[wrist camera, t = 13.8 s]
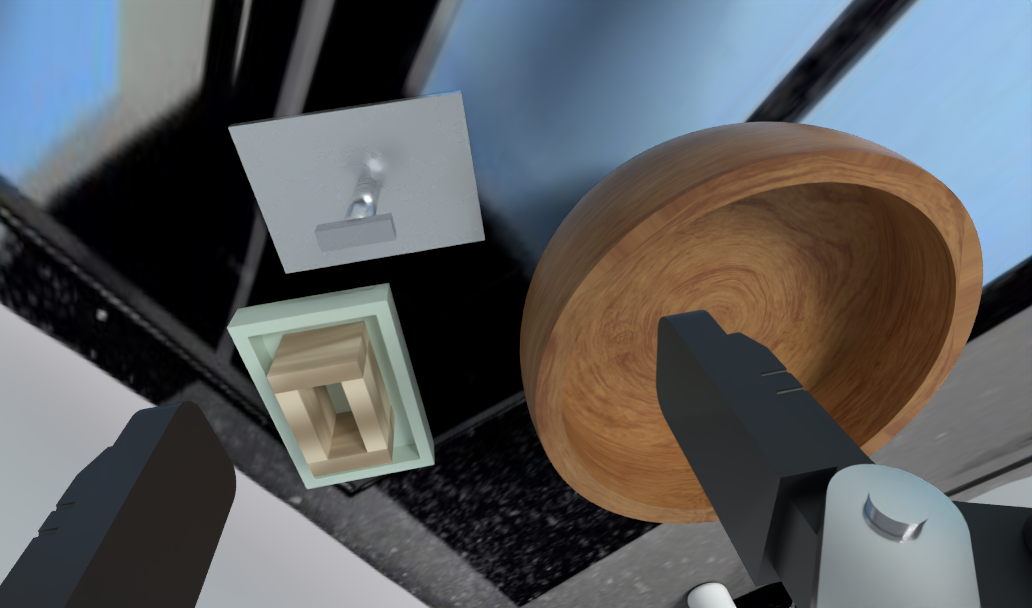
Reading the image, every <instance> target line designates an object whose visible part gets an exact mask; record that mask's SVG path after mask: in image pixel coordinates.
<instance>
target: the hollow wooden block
mask: <svg viewBox="0 0 1032 608" xmlns="http://www.w3.org/2000/svg"><path fill="white" fill-rule="evenodd" d="M267 379H268V381H269V383H270V385H271V387H272V390H273V392H274V394H275V396H276V398H277V400H278V402H279V404H280V406H281V409H282V411H283V413H284V415H285V417H286V419H287V421H288V423H289V426H290V428H291V430H292V432H293V434H294V436H295V438H296V440H297V442H298V445H299V447H300V449H301V451H302V453H303V455H304V457H305V459H306V462H307V464H308V466H309V468H310V470H311V472H312V474H313V476H314V477H317V476H322V475H327V474H332V473H338V472H343V471H348V470H353V469H359V468H364V467H369V466H374V465H380V464H385V463H390V462H392V455H393V440H394V425H395V415H394V412H393V409H392V406H391V403H390V400H389V397H388V394H387V391H386V387H385V384H384V381H383V378H382V375H381V372H380V369H379V366H378V362H377V359H376V356H375V353H374V350H373V347H372V344H371V341H370V337H369V334H368V331H367V328H366V325H365V322H364V321H359V322H353V323H347V324H342V325H336V326H330V327H324V328H318V329H313V330H307V331H301V332H295V333H290V334H284V335H283V337H282V339H281V342H280V344H279V347H278V350H277V352H276V355H275V357H274V360H273V362H272V365H271V367H270V370H269V373H268V375H267ZM339 382H341V383H342V386H343V389H344V391H345V394H346V397H347V399H348V402H349V404H350V407H351V410H352V411H350V412H345V413H339V414H337V413H336V411H335V408H334V406H333V403H332V401H331V398H330V396H329V393H328V391H327V388H326V386H325V385H328V384H333V383H339Z"/></svg>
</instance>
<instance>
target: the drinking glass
mask: <svg viewBox="0 0 1032 608" xmlns="http://www.w3.org/2000/svg"><path fill="white" fill-rule="evenodd" d="M687 602H688V606H689V608H736V606H735V604H734V602H733V600H732V598H731V596H730V594H729V592H728V590H727V589H726V587H725V586H723V585H722V584H720V583H715V582H712V583H706V584H702V585H700V586H698V587H696V588H695V589H693V590H692V591H691V592H690V594H689V595H688V599H687Z"/></svg>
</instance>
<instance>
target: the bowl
mask: <svg viewBox="0 0 1032 608" xmlns="http://www.w3.org/2000/svg"><path fill="white" fill-rule="evenodd" d="M982 283H983V260H982V251H981V246H980V241H979V238H978V234H977V231H976V228H975V226H974V223H973V221H972V219H971V217H970V215H969V213H968V212H967V210H966V209H965V207H964V206H963V204H962V203H961V201H960V200H959V199H958V198H957V196H956V195H955V194H954V193H953V192H952V191H951V190H950V189H949V188H948V187H947V186H946V185H945V184H944V183H942V182H941V181H940V180H938V179H937V178H936V177H934V176H933V175H932V174H930V173H929V172H927V171H926V170H925V169H923V168H922V167H920V166H919V165H917V164H915V163H914V162H912V161H910V160H909V159H907V158H905V157H903V156H901V155H900V154H898V153H896V152H894V151H892V150H889V149H887V148H885V147H883V146H881V145H878V144H876V143H874V142H871V141H869V140H866V139H863V138H860V137H857V136H854V135H851V134H848V133H844V132H841V131H837V130H833V129H828V128H824V127H818V126H813V125H806V124H796V123H786V122H750V123H738V124H730V125H723V126H718V127H712V128H707V129H703V130H700V131H696V132H692V133H689V134H686V135H683V136H679V137H676V138H674V139H671V140H668V141H666V142H663V143H661V144H659V145H657V146H654V147H652V148H650V149H648V150H646V151H644V152H643V153H641V154H639V155H637V156H635V157H633V158H632V159H630V160H629V161H627V162H625V163H624V164H622V165H621V166H619V167H618V168H616V169H615V170H613V171H612V172H611V173H609V174H608V175H607V176H606V177H604V178H603V179H602V180H600V181H599V182H598V183H597V184H596V185H595V186H594V187H593V188H591V189H590V190H589V191H588V192H587V193H586V194H585V195H584V196H583V197H582V198H581V199H580V200H579V201H578V203H577V204H576V205H575V206H574V207H573V208H572V209H571V211H570V212H569V213H568V214H567V216H566V217H565V218H564V219H563V221H562V222H561V224H560V225H559V226H558V228H557V229H556V231H555V232H554V234H553V236H552V237H551V239H550V240H549V242H548V244H547V246H546V248H545V250H544V251H543V253H542V256H541V258H540V260H539V262H538V264H537V267H536V269H535V272H534V274H533V277H532V280H531V283H530V286H529V290H528V293H527V297H526V301H525V306H524V310H523V317H522V325H521V336H520V362H521V373H522V381H523V387H524V392H525V397H526V401H527V405H528V409H529V412H530V416H531V419H532V422H533V424H534V427H535V430H536V432H537V435H538V437H539V439H540V442H541V444H542V446H543V448H544V450H545V452H546V454H547V456H548V458H549V459H550V461H551V463H552V464H553V466H554V468H555V469H556V470H557V472H558V473H559V474H560V476H561V477H562V478H563V479H564V480H565V481H566V482H567V483H568V484H569V485H570V486H571V487H572V488H573V489H574V490H575V491H577V492H578V493H579V494H580V495H582V496H583V497H585V498H586V499H588V500H589V501H591V502H593V503H595V504H596V505H598V506H600V507H602V508H604V509H607V510H609V511H612V512H614V513H617V514H620V515H623V516H626V517H630V518H634V519H639V520H644V521H651V522H659V523H676V524H683V523H703V522H712V521H719V518H718V516H717V514H716V512H715V510H714V509H713V507H712V505H711V503H710V501H709V499H708V498H707V496H706V494H705V492H704V490H703V488H702V486H701V485H700V483H699V481H698V479H697V477H696V475H695V474H694V472H693V470H692V468H691V466H690V464H689V462H688V461H687V459H686V457H685V455H684V453H683V451H682V450H681V448H680V446H679V444H678V442H677V440H676V439H675V437H674V435H673V433H672V431H671V429H670V427H669V426H668V424H667V422H666V420H665V418H664V416H663V414H662V411H661V408H660V405H659V402H658V397H657V391H656V362H657V334H658V323H659V320H660V318H661V317H664V316H669V315H675V314H680V313H686V312H691V311H697V310H706V311H707V312H708V313H709V314H710V315H711V316H712V317H713V318H714V319H715V321H716V322H717V323H718V324H719V325H720V327H721V328H722V329H723V330H724V331H725V332H726V334H732V333H737V332H741V333H742V334H744V335H746V336H748V337H749V338H751V339H753V340H755V341H757V342H758V343H760V344H762V345H764V346H766V347H767V348H768V349H769V350H770V351H771V352H772V353H773V354H774V355H775V356H776V357H777V358H778V360H779V361H780V362H781V363H782V364H783V365H784V366H785V367H786V368H787V372H788V373H791V374H792V375H793V376H794V377H795V378H796V379H797V380H798V381H799V382H800V383H801V385H802V386H803V390H804V391H808V392H809V393H810V394H811V395H812V396H813V398H814V399H815V400H816V401H817V402H818V403H819V404H820V405H821V406H822V407H823V408H824V410H825V411H826V412H827V413H828V414H829V415H830V416H831V417H832V418H833V419H834V420H835V421H836V423H837V424H838V425H839V426H840V427H841V428H842V429H843V430H844V431H845V432H846V433H847V434H848V436H849V437H850V438H851V439H852V440H853V441H854V442H855V443H856V444H857V445H858V446H859V448H860V449H861V450H862V451H863V452H864V453H865V454H866V455H867V456H868V457H870V456H871V455H872V454H873V453H875V452H876V451H877V450H879V449H880V448H881V447H882V446H884V445H885V444H886V443H887V442H888V441H890V440H891V439H892V438H893V437H894V436H895V435H896V434H898V433H899V432H900V431H901V430H902V429H903V428H904V427H905V426H906V425H907V424H908V423H909V422H910V421H911V420H912V419H913V418H914V417H915V416H916V415H917V414H918V413H919V412H920V411H921V409H922V408H923V407H924V406H925V405H926V404H927V403H928V401H929V400H930V399H931V398H932V396H933V395H934V394H935V393H936V391H937V390H938V389H939V387H940V386H941V385H942V383H943V382H944V380H945V379H946V377H947V376H948V374H949V373H950V371H951V370H952V368H953V366H954V365H955V363H956V361H957V360H958V358H959V356H960V354H961V352H962V350H963V348H964V346H965V344H966V342H967V340H968V337H969V335H970V332H971V330H972V327H973V324H974V321H975V318H976V315H977V311H978V307H979V303H980V298H981V292H982Z"/></svg>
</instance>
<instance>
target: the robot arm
mask: <svg viewBox="0 0 1032 608" xmlns="http://www.w3.org/2000/svg"><path fill="white" fill-rule="evenodd" d="M656 391H657V397H658V402H659V405H660V408H661V411H662V414H663V416H664V418H665V420H666V422H667V424H668V426H669V427H670V429H671V431H672V433H673V435H674V437H675V439H676V440H677V442H678V444H679V446H680V448H681V450H682V451H683V453H684V455H685V457H686V459H687V461H688V462H689V464H690V466H691V468H692V470H693V472H694V474H695V475H696V477H697V479H698V481H699V483H700V485H701V486H702V488H703V490H704V492H705V494H706V496H707V498H708V499H709V501H710V503H711V505H712V507H713V509H714V510H715V512H716V514H717V516H718V518H719V520H720V522H721V523H722V525H723V527H724V529H725V531H726V533H727V534H728V536H729V538H730V540H731V542H732V544H733V546H734V547H735V549H736V551H737V553H738V555H739V557H740V558H741V560H742V562H743V564H744V566H745V568H746V569H747V571H748V573H749V575H750V577H751V579H752V581H753V582H754V584H755V586H760V585H765V584H770V583H774V582H779V581H782V583H783V585H784V586H785V588H786V590H787V592H788V593H789V595H790V597H791V598H792V600H793V603H792V607H791V608H1032V508H1026V507H1013V506H1002V505H990V504H979V503H968V502H959V501H951V500H950V499H949V498H948V497H947V496H946V495H945V494H943V493H942V492H941V491H940V490H939V489H937V488H936V487H934V486H933V485H931V484H930V483H928V482H926V481H925V480H923V479H921V478H919V477H917V476H915V475H913V474H910V473H908V472H906V471H903V470H900V469H897V468H893V467H889V466H884V465H876V464H875V463H874V462H873V461H872V460H871V459H870V458H869V457H868V456H867V455H866V454H865V453H864V452H863V451H862V450H861V449H860V448H859V446H858V445H857V444H856V443H855V442H854V441H853V440H852V439H851V438H850V437H849V436H848V434H847V433H846V432H845V431H844V430H843V429H842V428H841V427H840V426H839V425H838V424H837V423H836V421H835V420H834V419H833V418H832V417H831V416H830V415H829V414H828V413H827V412H826V411H825V410H824V408H823V407H822V406H821V405H820V404H819V403H818V402H817V401H816V400H815V399H814V398H813V396H812V395H811V394H810V393H809V392H808V391H804V390H803V386H802V385H801V383H800V382H799V381H798V380H797V379H796V378H795V377H794V376H793V375H792V374H791V373H788V372H787V368H786V367H785V366H784V365H783V364H782V363H781V362H780V361H779V360H778V358H777V357H776V356H775V355H774V354H773V353H772V352H771V351H770V350H769V349H768V348H767V347H766V346H764V345H762V344H760V343H758V342H757V341H755V340H753V339H751V338H749V337H748V336H746V335H744V334H742V333H741V332H737V333H732V334H726V332H725V331H724V330H723V329H722V328H721V327H720V325H719V324H718V323H717V322H716V321H715V319H714V318H713V317H712V316H711V315H710V314H709V313H708V312H707V311H706V310H697V311H691V312H686V313H680V314H675V315H669V316H664V317H661V318H660V320H659V323H658V334H657V362H656ZM235 492H236V476H235V470H234V466H233V464H232V462H231V460H230V458H229V456H228V455H227V453H226V451H225V449H224V448H223V446H222V444H221V443H220V441H219V439H218V438H217V436H216V434H215V432H214V431H213V429H212V427H211V426H210V424H209V422H208V421H207V419H206V417H205V415H204V414H203V412H202V410H201V409H200V408H199V406H198V405H197V404H195V403H193V402H191V401H186V402H181V403H175V404H170V405H164V406H159V407H153V408H148V409H142V410H139V411H138V412H136V413H135V414H134V415H133V416H132V418H131V419H130V420H129V422H128V423H127V425H126V427H125V428H124V430H123V431H122V433H121V434H120V436H119V437H118V439H117V440H116V442H115V443H114V445H113V446H111V447H108V448H107V449H105V450H104V451H103V452H102V453H101V454H100V455H99V456H98V457H96V458H95V459H94V460H93V461H92V462H91V463H90V464H89V465H88V466H87V467H85V468H84V469H83V470H82V471H81V472H80V473H79V474H78V475H77V476H76V477H75V479H74V480H73V481H72V483H71V484H70V486H69V487H68V489H67V490H66V492H65V493H64V494H63V496H62V497H61V499H60V500H59V502H58V503H57V505H56V506H57V509H56V511H52V512H51V513H50V515H49V516H48V518H47V519H46V520H45V522H44V523H43V525H42V526H41V528H40V529H39V531H38V532H39V536H38V537H36V538H33V539H32V541H31V542H30V544H29V545H28V547H27V548H26V549H25V551H24V552H23V554H22V555H21V556H20V558H19V559H18V561H17V562H16V564H15V565H14V567H13V568H12V569H11V571H10V572H9V574H8V575H7V577H6V578H5V580H4V581H3V583H2V584H1V585H0V608H195V605H196V603H197V600H198V597H199V595H200V592H201V589H202V586H203V584H204V581H205V578H206V575H207V573H208V570H209V567H210V564H211V561H212V559H213V556H214V553H215V550H216V548H217V545H218V542H219V539H220V537H221V534H222V531H223V528H224V525H225V523H226V520H227V517H228V515H229V512H230V509H231V506H232V503H233V500H234V497H235Z"/></svg>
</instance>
